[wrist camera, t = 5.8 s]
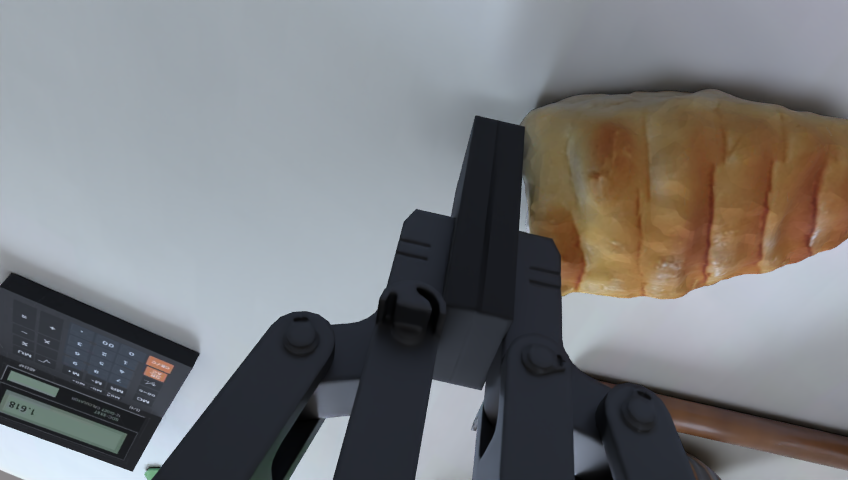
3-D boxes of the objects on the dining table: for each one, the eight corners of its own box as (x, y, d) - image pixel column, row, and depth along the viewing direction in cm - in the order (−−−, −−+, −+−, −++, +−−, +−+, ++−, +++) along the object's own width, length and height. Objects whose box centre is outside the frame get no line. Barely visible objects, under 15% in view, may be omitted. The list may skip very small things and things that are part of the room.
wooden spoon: (542, 402, 28) (541, 429, 27) (579, 342, 24) (580, 371, 23) (937, 492, 28) (951, 522, 27) (1036, 446, 24) (1056, 479, 23)
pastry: (898, 40, 14) (978, 133, 11) (834, 239, 18) (880, 339, 16) (506, 92, 17) (496, 177, 14) (534, 255, 21) (530, 342, 18)
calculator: (199, 353, 30) (172, 405, 28) (154, 428, 38) (131, 473, 36) (11, 272, 27) (-34, 323, 25) (5, 370, 35) (-30, 415, 33)
